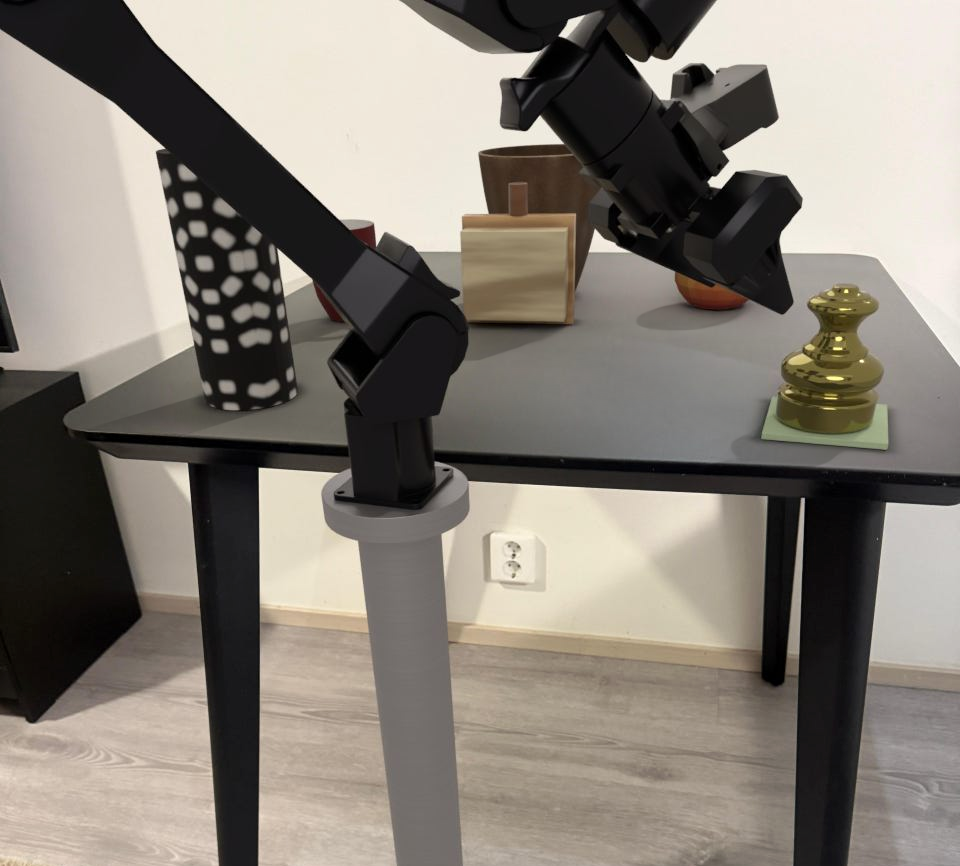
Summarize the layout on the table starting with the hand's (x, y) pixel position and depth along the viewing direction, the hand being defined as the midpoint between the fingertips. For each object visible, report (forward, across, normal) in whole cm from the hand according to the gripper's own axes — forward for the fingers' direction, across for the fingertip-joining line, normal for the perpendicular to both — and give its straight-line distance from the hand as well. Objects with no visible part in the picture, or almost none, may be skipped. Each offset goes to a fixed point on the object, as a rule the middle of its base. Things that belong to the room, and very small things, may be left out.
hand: (749, 294), depth 65 cm
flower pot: (+11, +51, +4) cm, 53 cm away
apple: (+22, +38, -7) cm, 44 cm away
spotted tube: (-16, +26, +32) cm, 44 cm away
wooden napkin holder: (+5, +39, +10) cm, 41 cm away
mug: (-6, +50, +21) cm, 55 cm away
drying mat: (+13, 0, +2) cm, 13 cm away
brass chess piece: (+13, 0, +2) cm, 13 cm away
